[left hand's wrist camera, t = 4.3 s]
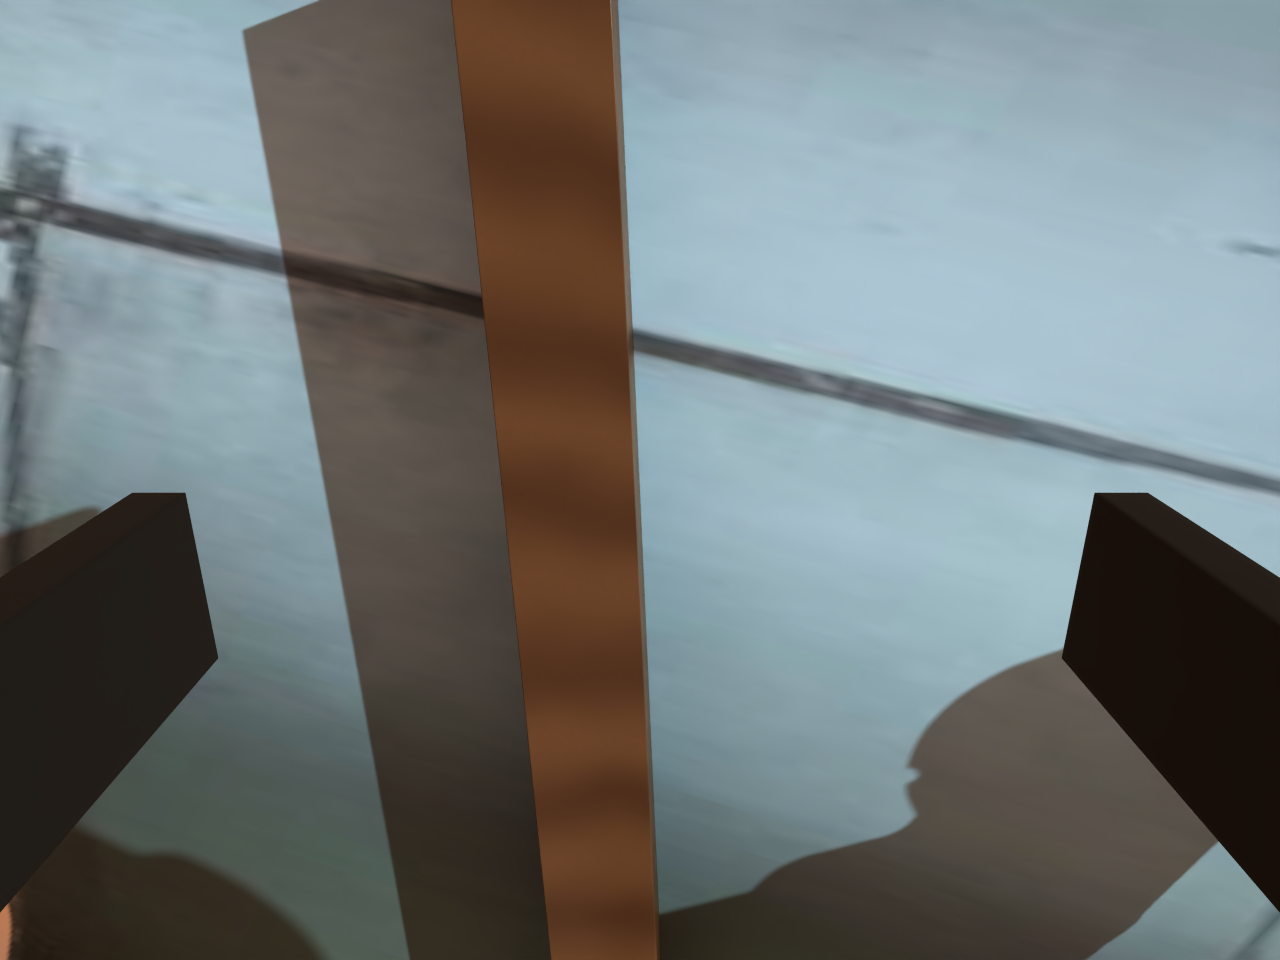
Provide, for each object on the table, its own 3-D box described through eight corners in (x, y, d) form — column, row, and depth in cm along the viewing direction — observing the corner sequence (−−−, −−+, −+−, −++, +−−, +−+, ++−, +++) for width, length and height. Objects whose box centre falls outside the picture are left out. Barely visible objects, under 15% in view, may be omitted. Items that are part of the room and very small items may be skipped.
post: (484, -66, 33) (436, -135, 25) (614, -72, 32) (604, -143, 25) (604, 1259, 60) (597, 1410, 53) (674, 1258, 60) (678, 1409, 53)
